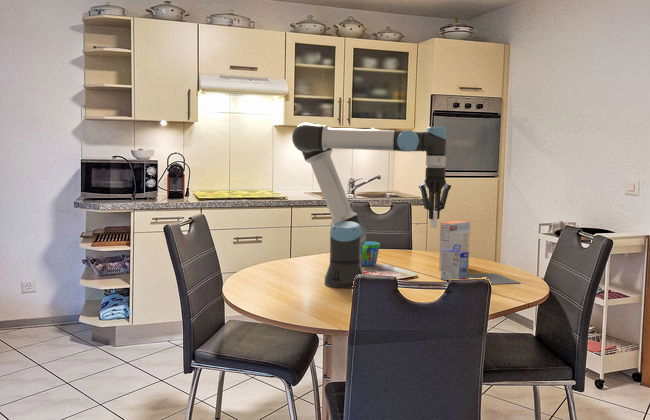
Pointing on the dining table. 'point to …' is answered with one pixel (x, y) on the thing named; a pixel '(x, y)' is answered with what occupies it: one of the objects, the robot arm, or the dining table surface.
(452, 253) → the ink cartridge box
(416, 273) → the dining table surface
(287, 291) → the dining table surface
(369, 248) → the snack cup
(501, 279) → the mat
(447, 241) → the cracker box
